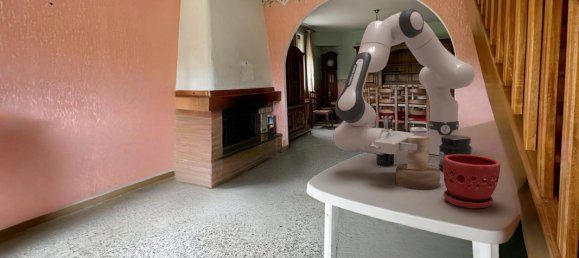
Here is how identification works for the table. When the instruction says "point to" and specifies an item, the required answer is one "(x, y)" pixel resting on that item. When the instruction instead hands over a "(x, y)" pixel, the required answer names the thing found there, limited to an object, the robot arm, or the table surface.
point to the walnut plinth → (418, 178)
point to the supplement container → (454, 147)
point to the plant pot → (470, 180)
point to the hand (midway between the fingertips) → (421, 144)
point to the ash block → (418, 153)
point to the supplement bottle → (385, 159)
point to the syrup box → (419, 131)
